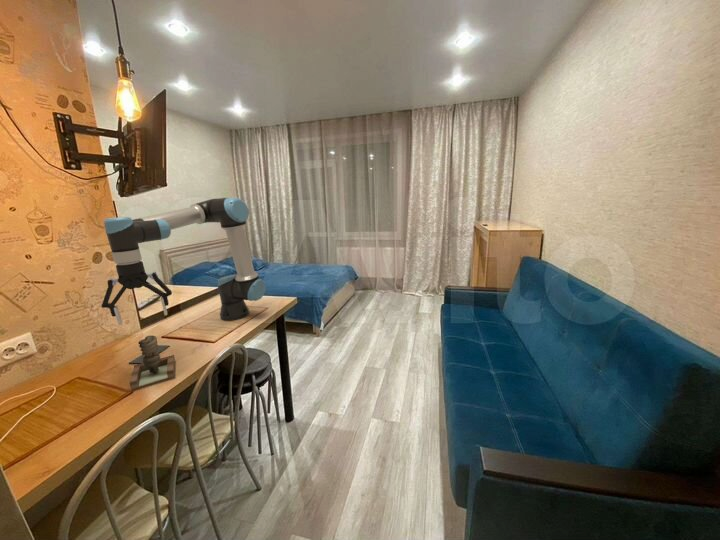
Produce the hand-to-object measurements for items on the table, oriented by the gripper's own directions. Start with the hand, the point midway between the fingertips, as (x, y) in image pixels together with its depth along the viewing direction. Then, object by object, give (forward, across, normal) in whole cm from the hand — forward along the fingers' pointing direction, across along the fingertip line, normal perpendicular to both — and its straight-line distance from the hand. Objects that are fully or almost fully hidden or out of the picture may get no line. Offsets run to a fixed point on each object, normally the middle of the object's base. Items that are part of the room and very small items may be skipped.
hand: (144, 318), depth 106 cm
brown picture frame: (+22, +1, +2) cm, 23 cm away
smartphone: (+23, +4, -19) cm, 30 cm away
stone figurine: (+22, 0, +2) cm, 22 cm away
